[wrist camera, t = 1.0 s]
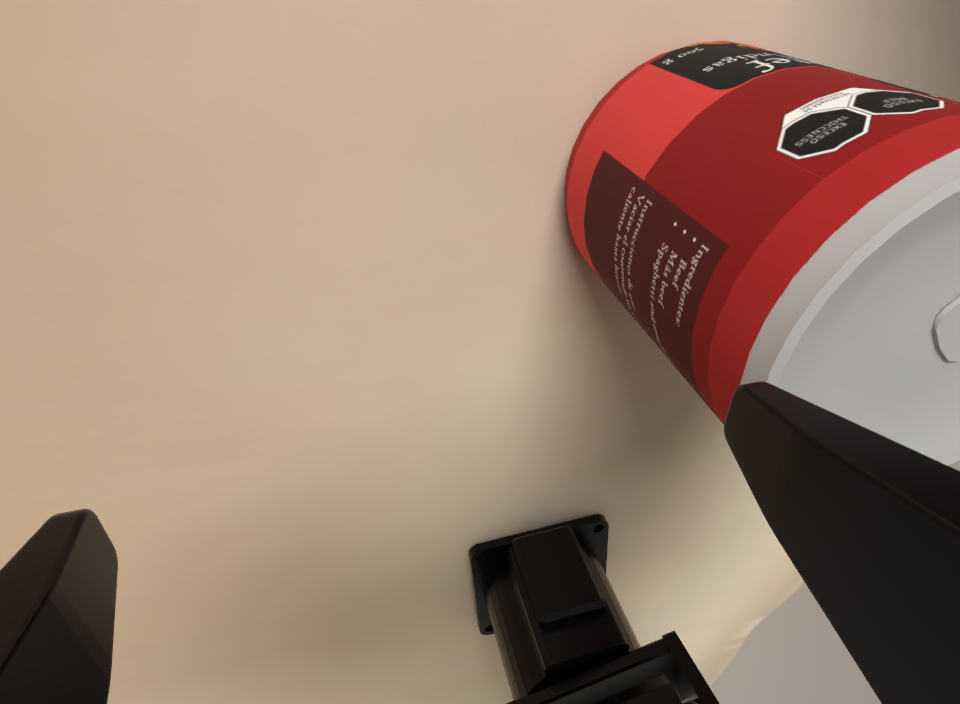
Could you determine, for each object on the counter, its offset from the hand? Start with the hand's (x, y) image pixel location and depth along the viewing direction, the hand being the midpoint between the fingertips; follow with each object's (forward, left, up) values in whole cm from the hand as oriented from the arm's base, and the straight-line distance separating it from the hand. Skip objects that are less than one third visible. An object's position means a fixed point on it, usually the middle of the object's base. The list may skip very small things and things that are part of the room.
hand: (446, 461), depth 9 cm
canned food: (-1, -10, -12) cm, 16 cm away
